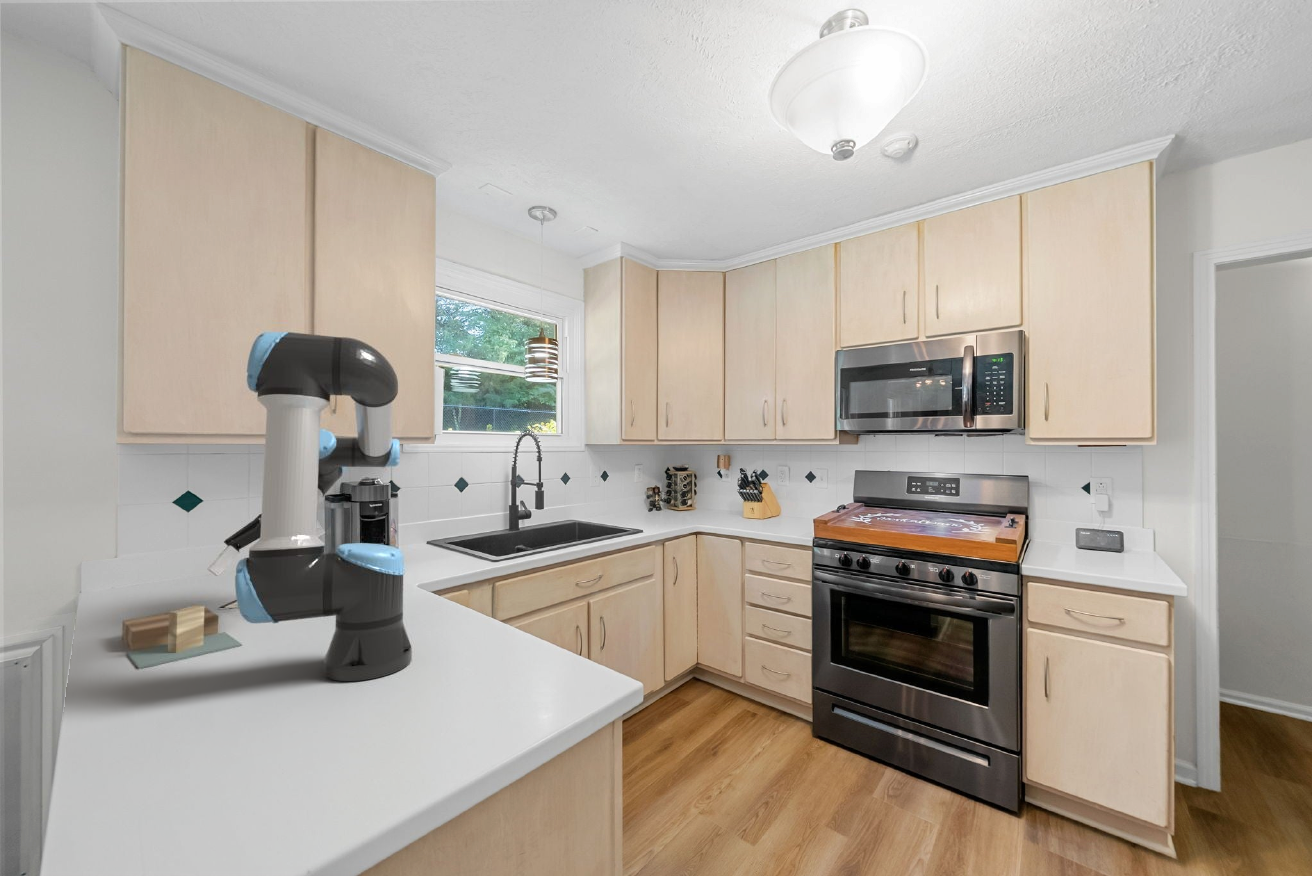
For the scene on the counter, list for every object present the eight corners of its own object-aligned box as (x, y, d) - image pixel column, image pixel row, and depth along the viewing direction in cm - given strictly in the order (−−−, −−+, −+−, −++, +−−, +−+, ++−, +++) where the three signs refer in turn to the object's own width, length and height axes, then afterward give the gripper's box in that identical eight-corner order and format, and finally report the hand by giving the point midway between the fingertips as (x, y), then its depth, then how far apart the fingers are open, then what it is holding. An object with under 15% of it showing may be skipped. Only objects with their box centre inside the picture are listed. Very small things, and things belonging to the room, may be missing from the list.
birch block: (203, 644, 114) (204, 606, 115) (176, 652, 110) (177, 613, 110) (195, 643, 115) (196, 605, 115) (167, 651, 110) (169, 611, 111)
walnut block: (217, 633, 122) (218, 616, 122) (132, 651, 111) (133, 632, 111) (203, 623, 129) (203, 606, 130) (122, 638, 118) (122, 620, 119)
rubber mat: (241, 645, 115) (241, 643, 115) (138, 669, 102) (138, 666, 102) (224, 633, 122) (224, 631, 122) (126, 654, 110) (126, 652, 110)
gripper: (344, 513, 135) (286, 588, 120) (271, 509, 143) (207, 579, 128) (326, 493, 130) (263, 569, 115) (251, 491, 138) (182, 561, 123)
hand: (233, 574), depth 122 cm, fingers open, 13 cm apart
